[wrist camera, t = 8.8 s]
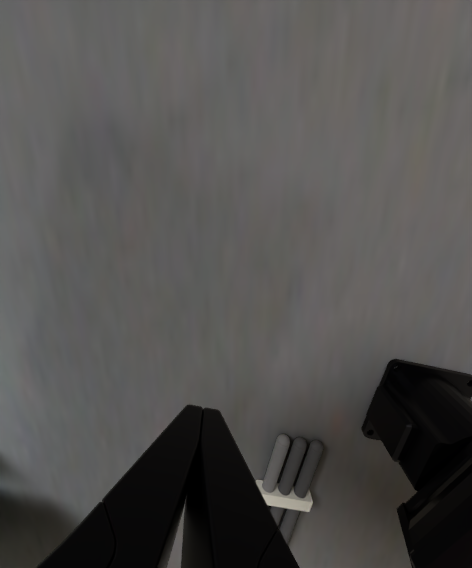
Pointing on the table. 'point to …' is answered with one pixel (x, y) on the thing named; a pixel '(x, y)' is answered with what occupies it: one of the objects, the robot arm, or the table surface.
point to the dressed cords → (290, 481)
